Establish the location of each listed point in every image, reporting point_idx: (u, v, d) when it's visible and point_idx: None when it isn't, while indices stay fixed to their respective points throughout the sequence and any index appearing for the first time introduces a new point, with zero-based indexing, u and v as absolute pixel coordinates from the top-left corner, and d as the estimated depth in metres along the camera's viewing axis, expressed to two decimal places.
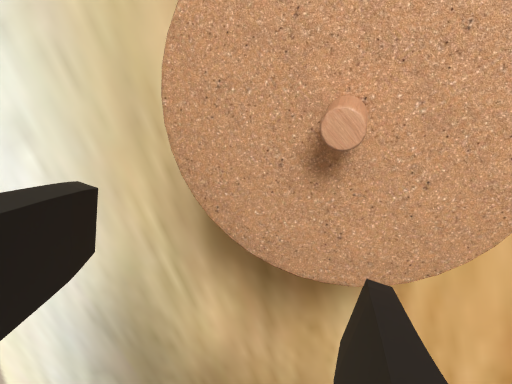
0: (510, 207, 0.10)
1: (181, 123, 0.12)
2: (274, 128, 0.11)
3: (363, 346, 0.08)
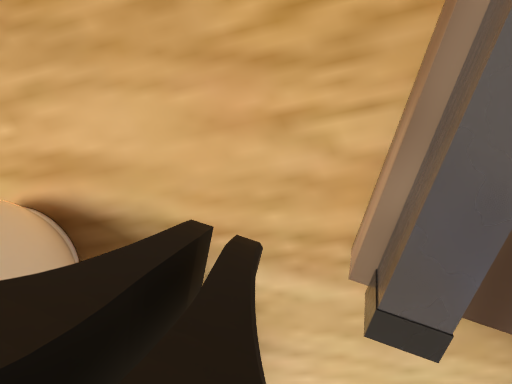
0: None
1: None
2: None
3: None
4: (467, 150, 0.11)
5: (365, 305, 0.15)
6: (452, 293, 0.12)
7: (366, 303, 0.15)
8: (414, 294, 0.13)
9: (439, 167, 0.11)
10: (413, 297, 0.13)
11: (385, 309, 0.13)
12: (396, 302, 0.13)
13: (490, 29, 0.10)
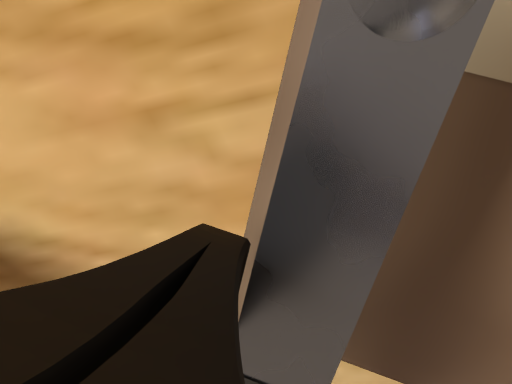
0: None
1: None
2: None
3: None
4: (306, 157, 0.07)
5: None
6: (314, 353, 0.09)
7: None
8: (267, 352, 0.09)
9: (275, 181, 0.08)
10: (267, 356, 0.09)
11: None
12: (247, 361, 0.10)
13: None
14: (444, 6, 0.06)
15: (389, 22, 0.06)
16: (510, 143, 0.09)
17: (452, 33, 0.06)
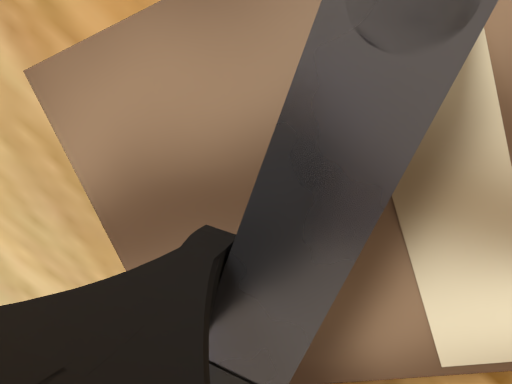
0: None
1: None
2: None
3: None
4: (290, 157, 0.07)
5: None
6: (280, 346, 0.09)
7: None
8: (235, 341, 0.10)
9: (257, 177, 0.08)
10: (234, 345, 0.10)
11: None
12: (214, 348, 0.10)
13: None
14: (437, 24, 0.06)
15: (384, 35, 0.06)
16: None
17: (442, 52, 0.06)
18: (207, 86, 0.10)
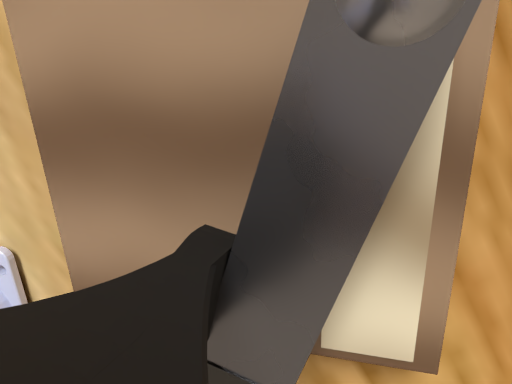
0: None
1: None
2: None
3: None
4: (286, 154, 0.07)
5: None
6: (284, 346, 0.09)
7: None
8: (239, 343, 0.09)
9: (255, 176, 0.08)
10: (238, 346, 0.10)
11: (209, 357, 0.10)
12: (219, 351, 0.10)
13: None
14: (427, 14, 0.06)
15: (374, 27, 0.06)
16: None
17: (433, 41, 0.06)
18: (180, 14, 0.10)
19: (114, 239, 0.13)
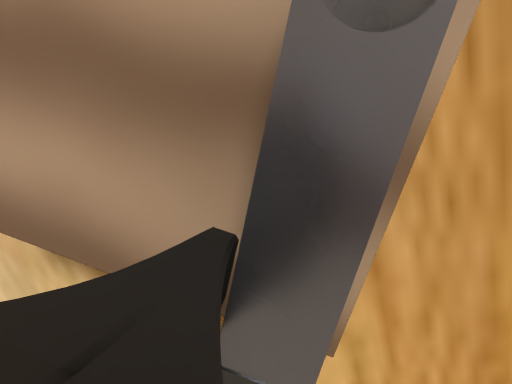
0: None
1: None
2: None
3: None
4: (284, 150, 0.07)
5: None
6: (300, 347, 0.09)
7: None
8: (254, 347, 0.09)
9: (255, 175, 0.08)
10: (254, 351, 0.09)
11: (226, 364, 0.10)
12: (235, 357, 0.10)
13: None
14: None
15: (360, 14, 0.06)
16: (236, 101, 0.10)
17: (422, 23, 0.06)
18: None
19: (51, 162, 0.12)
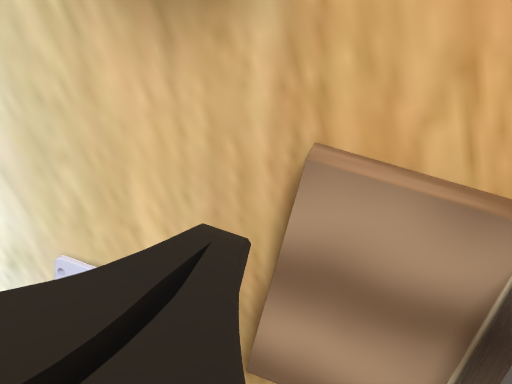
0: None
1: None
2: None
3: None
4: None
5: None
6: None
7: None
8: None
9: None
10: None
11: None
12: None
13: None
14: None
15: None
16: (445, 325, 0.17)
17: None
18: (416, 248, 0.16)
19: (301, 338, 0.19)
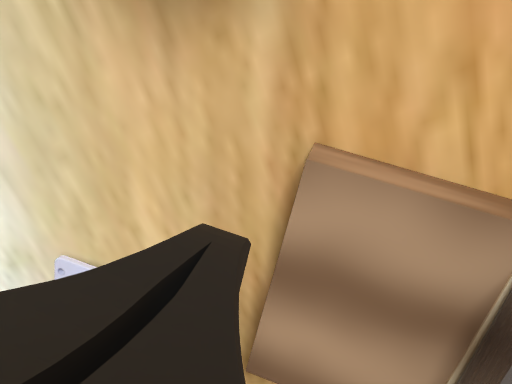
0: None
1: None
2: None
3: None
4: None
5: None
6: None
7: None
8: None
9: None
10: None
11: None
12: None
13: None
14: None
15: None
16: (445, 325, 0.17)
17: None
18: (416, 248, 0.16)
19: (301, 338, 0.19)
